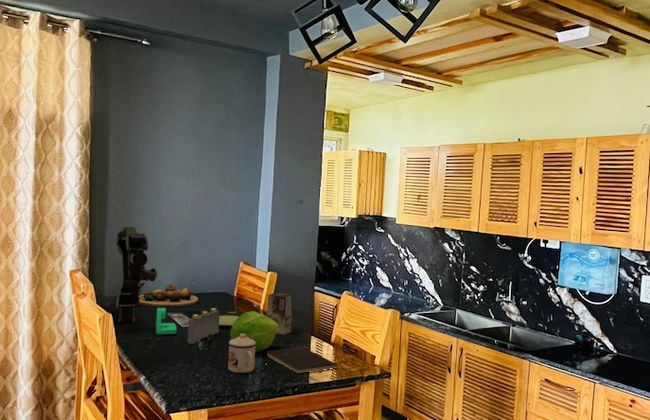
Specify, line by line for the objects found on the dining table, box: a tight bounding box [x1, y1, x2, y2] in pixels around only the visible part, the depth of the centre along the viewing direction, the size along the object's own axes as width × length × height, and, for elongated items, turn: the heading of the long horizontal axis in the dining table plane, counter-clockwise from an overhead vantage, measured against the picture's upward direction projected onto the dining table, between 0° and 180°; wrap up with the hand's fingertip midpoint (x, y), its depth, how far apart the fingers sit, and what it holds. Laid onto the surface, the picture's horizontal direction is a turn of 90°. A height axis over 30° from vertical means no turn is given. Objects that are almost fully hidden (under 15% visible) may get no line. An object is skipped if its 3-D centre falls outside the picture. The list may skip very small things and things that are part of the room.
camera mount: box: [155, 307, 177, 335], centre depth 226 cm, size 12×8×10 cm, turn 19°
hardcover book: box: [265, 346, 338, 374], centre depth 195 cm, size 16×23×2 cm
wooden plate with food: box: [139, 284, 199, 309], centre depth 289 cm, size 32×32×8 cm
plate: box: [199, 310, 245, 328], centre depth 250 cm, size 28×28×2 cm
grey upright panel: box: [187, 307, 220, 344], centre depth 221 cm, size 20×2×10 cm, turn 162°
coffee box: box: [266, 292, 294, 335], centre depth 237 cm, size 9×6×16 cm
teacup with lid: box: [227, 334, 256, 374], centre depth 182 cm, size 12×9×12 cm
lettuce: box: [229, 310, 280, 353], centre depth 207 cm, size 15×20×14 cm
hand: (136, 301), depth 229 cm, fingers closed
